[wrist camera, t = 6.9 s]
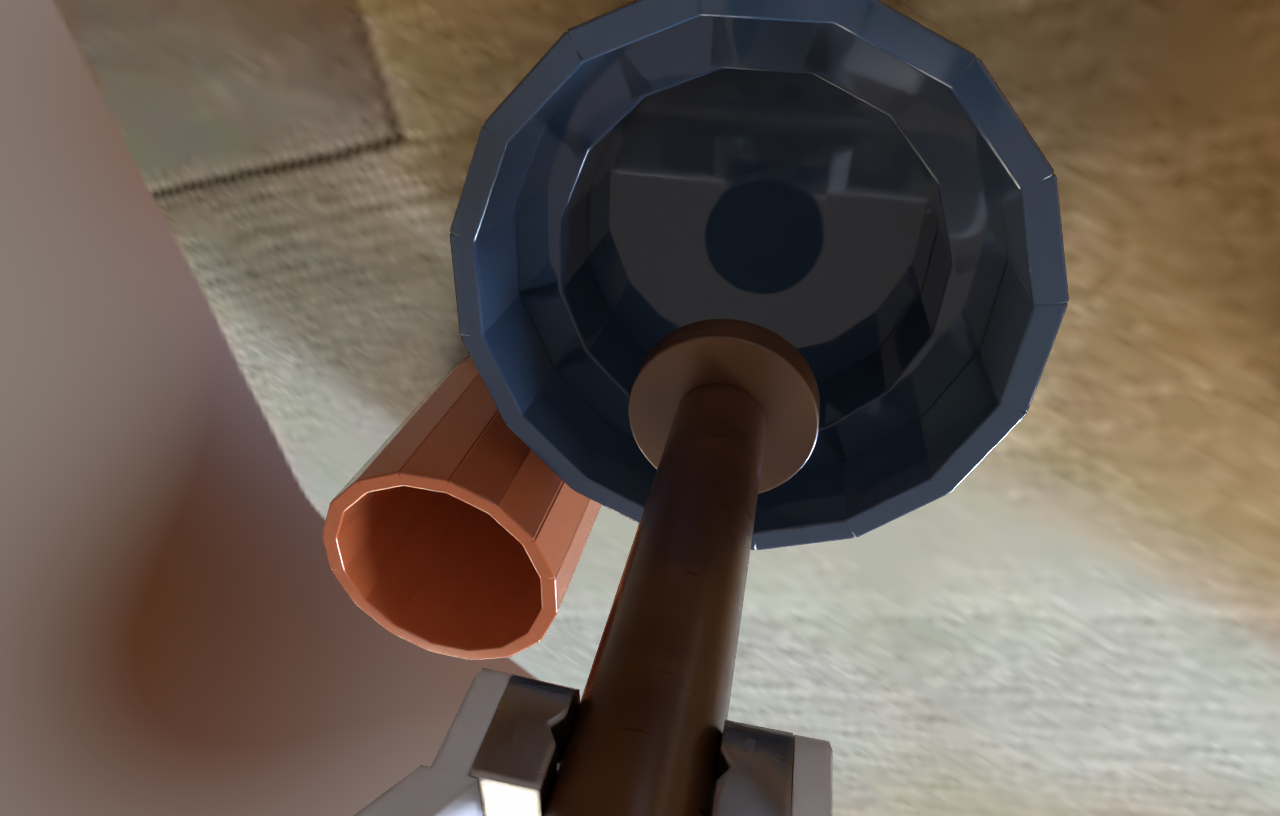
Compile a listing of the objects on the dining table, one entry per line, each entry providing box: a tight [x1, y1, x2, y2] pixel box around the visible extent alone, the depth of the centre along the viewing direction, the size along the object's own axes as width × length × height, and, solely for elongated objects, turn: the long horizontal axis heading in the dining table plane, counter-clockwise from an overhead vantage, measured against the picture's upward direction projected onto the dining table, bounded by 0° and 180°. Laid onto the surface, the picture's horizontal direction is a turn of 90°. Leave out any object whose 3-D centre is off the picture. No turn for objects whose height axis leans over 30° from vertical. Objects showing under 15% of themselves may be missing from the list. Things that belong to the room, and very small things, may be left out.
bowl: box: [450, 0, 1069, 550], centre depth 21 cm, size 14×14×6 cm
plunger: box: [543, 319, 820, 816], centre depth 13 cm, size 5×5×13 cm
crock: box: [322, 356, 601, 660], centre depth 26 cm, size 8×8×8 cm
